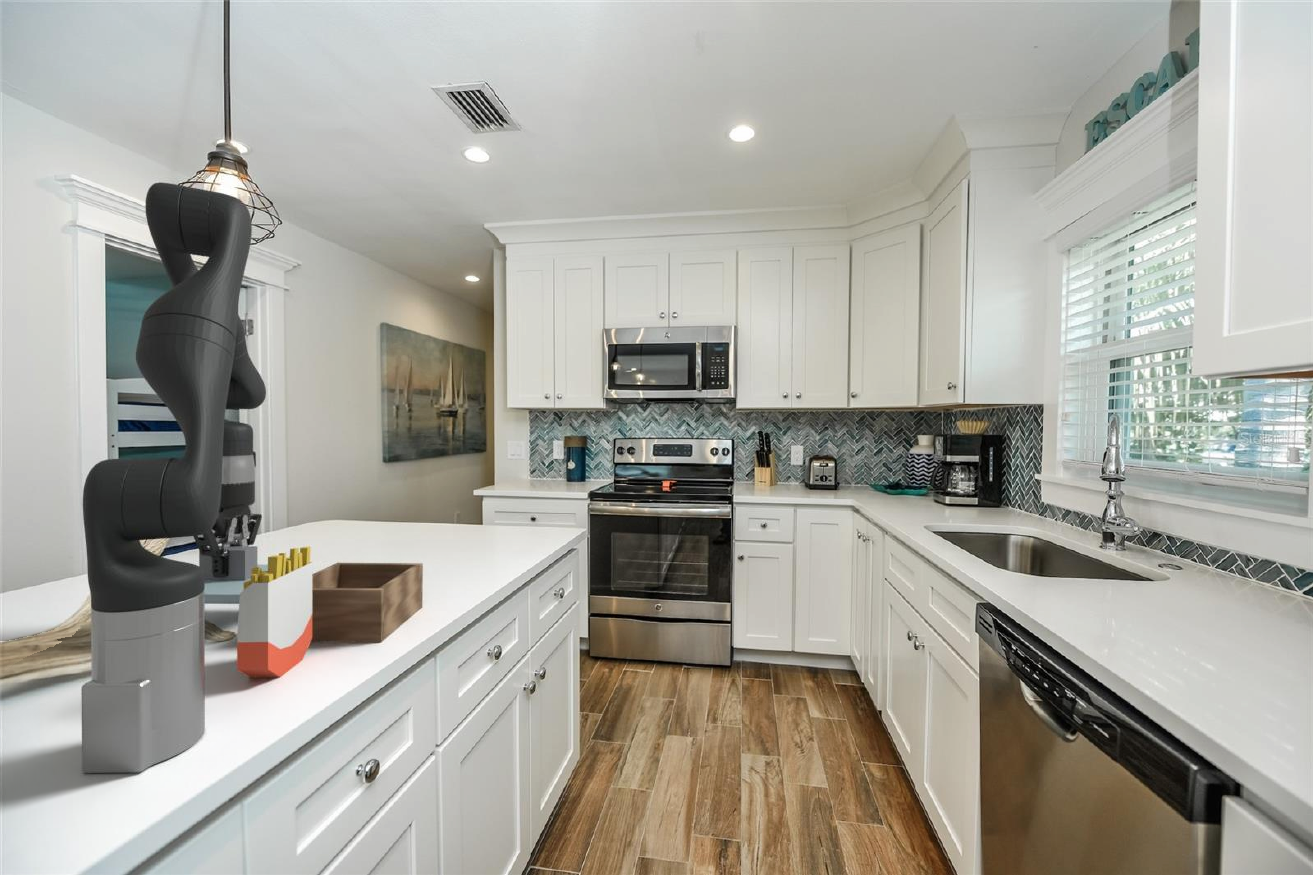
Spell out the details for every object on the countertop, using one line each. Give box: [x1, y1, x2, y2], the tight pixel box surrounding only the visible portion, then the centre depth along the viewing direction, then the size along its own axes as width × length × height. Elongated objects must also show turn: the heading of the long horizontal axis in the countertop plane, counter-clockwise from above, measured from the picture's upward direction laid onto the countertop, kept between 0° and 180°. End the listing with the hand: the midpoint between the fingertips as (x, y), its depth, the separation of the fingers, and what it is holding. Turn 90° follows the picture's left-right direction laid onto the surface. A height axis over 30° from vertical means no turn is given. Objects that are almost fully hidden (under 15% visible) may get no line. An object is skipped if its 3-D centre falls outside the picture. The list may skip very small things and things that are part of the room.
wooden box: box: [310, 562, 424, 643], centre depth 96 cm, size 17×17×9 cm
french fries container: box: [236, 546, 313, 679], centre depth 78 cm, size 5×11×18 cm, turn 5°
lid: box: [198, 545, 268, 605], centre depth 94 cm, size 18×18×8 cm
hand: (229, 573), depth 94 cm, fingers closed on lid, 3 cm apart
